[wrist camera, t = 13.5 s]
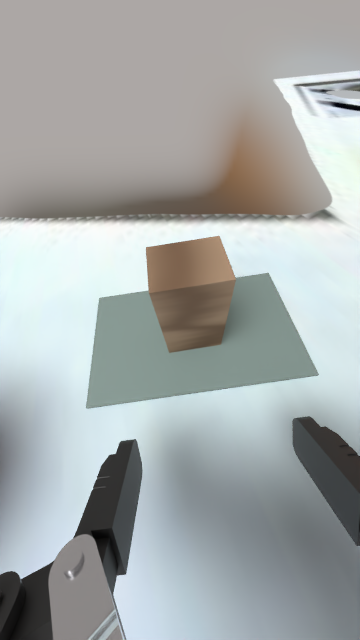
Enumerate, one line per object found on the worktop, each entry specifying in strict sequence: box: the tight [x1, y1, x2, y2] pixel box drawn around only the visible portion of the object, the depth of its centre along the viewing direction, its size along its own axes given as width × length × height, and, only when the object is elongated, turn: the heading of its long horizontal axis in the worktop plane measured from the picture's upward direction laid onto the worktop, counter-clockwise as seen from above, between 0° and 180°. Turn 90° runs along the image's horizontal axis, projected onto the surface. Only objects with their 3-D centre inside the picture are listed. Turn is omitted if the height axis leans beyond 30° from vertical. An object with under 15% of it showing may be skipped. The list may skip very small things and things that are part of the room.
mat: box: [86, 273, 319, 408], centre depth 20 cm, size 20×12×1 cm, turn 97°
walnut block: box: [146, 236, 236, 353], centre depth 16 cm, size 5×4×9 cm
